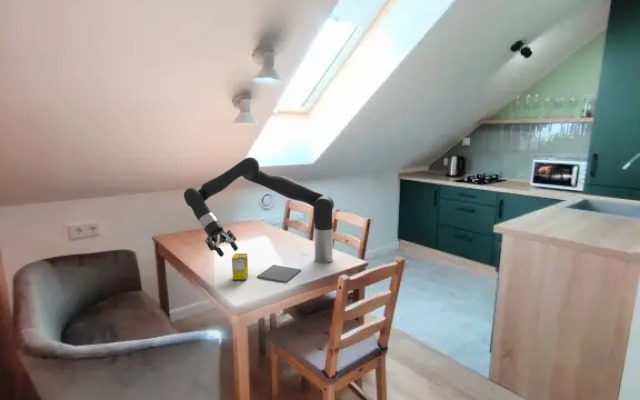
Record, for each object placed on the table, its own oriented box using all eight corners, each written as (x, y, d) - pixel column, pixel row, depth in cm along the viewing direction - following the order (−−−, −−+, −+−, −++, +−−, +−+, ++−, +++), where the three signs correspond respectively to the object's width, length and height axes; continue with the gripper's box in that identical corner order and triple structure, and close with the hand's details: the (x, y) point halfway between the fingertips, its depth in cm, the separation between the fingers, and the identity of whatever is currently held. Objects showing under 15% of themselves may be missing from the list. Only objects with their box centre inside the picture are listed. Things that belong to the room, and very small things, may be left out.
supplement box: (248, 275, 170) (247, 253, 168) (246, 281, 164) (245, 257, 162) (235, 275, 170) (234, 253, 168) (232, 281, 164) (231, 257, 162)
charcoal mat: (273, 266, 181) (273, 264, 181) (301, 270, 176) (301, 269, 176) (257, 277, 168) (257, 276, 168) (286, 283, 162) (286, 281, 162)
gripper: (218, 225, 179) (237, 252, 175) (194, 233, 167) (213, 262, 163) (226, 216, 175) (244, 243, 171) (201, 223, 163) (221, 253, 159)
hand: (229, 252), depth 167 cm, fingers open, 8 cm apart
